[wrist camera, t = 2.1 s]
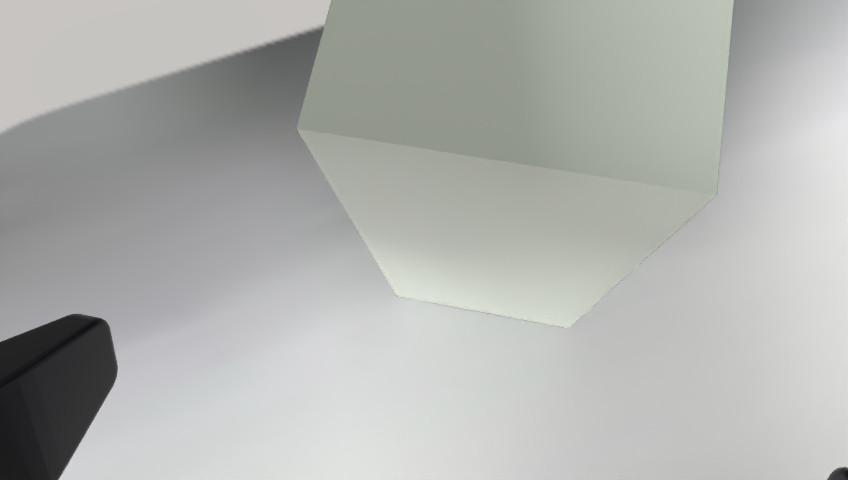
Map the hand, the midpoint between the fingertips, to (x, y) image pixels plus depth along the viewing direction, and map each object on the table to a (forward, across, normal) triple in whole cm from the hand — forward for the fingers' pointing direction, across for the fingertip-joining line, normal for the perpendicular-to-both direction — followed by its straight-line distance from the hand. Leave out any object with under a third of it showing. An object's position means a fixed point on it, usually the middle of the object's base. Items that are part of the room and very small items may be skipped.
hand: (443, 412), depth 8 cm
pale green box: (+13, 0, +4) cm, 14 cm away
